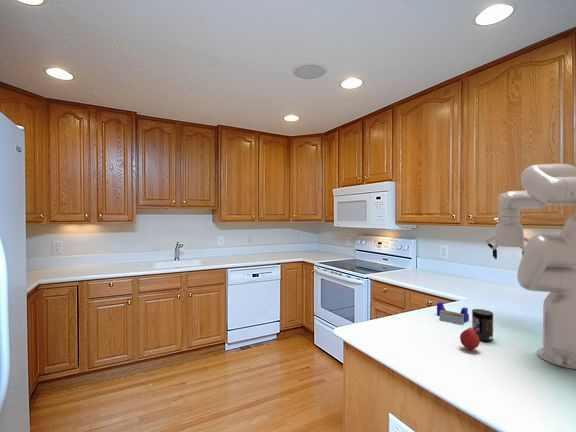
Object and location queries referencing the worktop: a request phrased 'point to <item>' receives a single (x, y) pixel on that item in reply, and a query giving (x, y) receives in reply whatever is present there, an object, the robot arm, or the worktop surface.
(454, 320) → the end stop block
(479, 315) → the supplement container
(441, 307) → the cable clip
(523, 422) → the worktop surface
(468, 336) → the onion
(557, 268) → the robot arm
